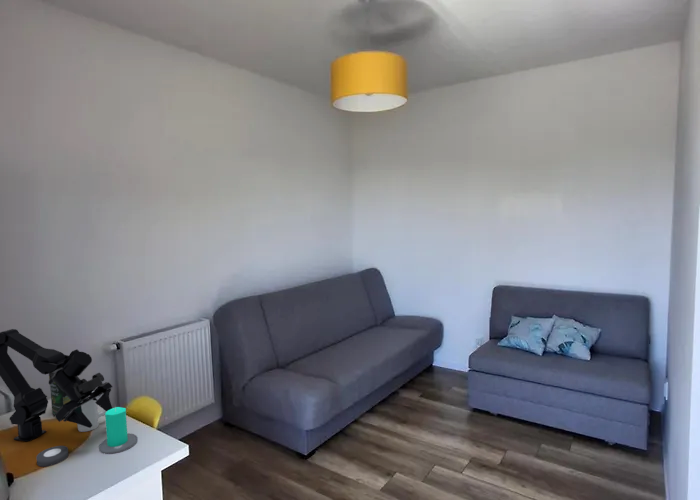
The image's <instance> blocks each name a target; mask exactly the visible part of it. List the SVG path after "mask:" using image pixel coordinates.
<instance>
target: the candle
mask: <svg viewBox="0 0 700 500" xmlns="http://www.w3.org/2000/svg"><path fill="white" fill-rule="evenodd" d="M104 417H105V430H106V439H107V445H108V446H110V447H116V446H120V445H122V444H124V443H126V442H127V441H128V436H127V433H128V426H127V425H128V423H127V422H128V421H127V409H126V407H122V406H114V407H112V409H110V410H108V411H106V413H105V415H104Z"/></svg>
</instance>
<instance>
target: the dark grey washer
mask: <svg viewBox="0 0 700 500" xmlns="http://www.w3.org/2000/svg"><path fill="white" fill-rule="evenodd" d="M68 457H69V448H68V446H65V445H56V446H52V447H48V448H46V449H44V450H41V451H40V452H39V453H38V454H37V455H36V457H35V458H36V464H37V466H38V467H43V468H44V467H51V466H54V465H58V464H60V463H62V462H64V461H65V460H66V459H67V458H68Z"/></svg>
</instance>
